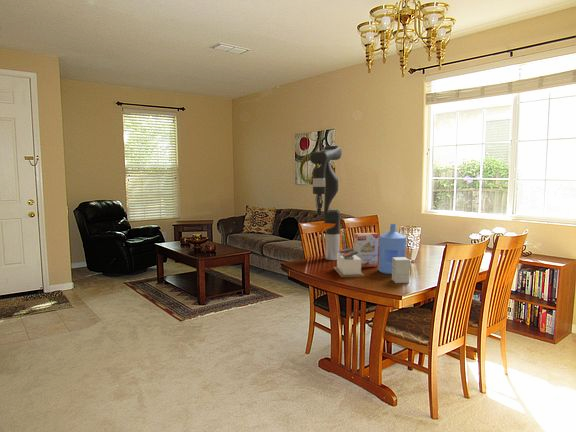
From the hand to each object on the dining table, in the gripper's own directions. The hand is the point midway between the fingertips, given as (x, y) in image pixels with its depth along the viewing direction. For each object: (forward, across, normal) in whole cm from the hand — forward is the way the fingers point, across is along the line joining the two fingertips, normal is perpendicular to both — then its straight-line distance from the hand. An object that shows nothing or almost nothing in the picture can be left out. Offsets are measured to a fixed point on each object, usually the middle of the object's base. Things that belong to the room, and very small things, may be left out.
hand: (318, 215), depth 250 cm
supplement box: (+33, -32, -39) cm, 60 cm away
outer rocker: (+22, -16, -16) cm, 31 cm away
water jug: (+33, -10, -42) cm, 54 cm away
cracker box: (+33, +4, -30) cm, 45 cm away
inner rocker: (+22, -4, -16) cm, 28 cm away
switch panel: (+33, -10, -16) cm, 38 cm away
